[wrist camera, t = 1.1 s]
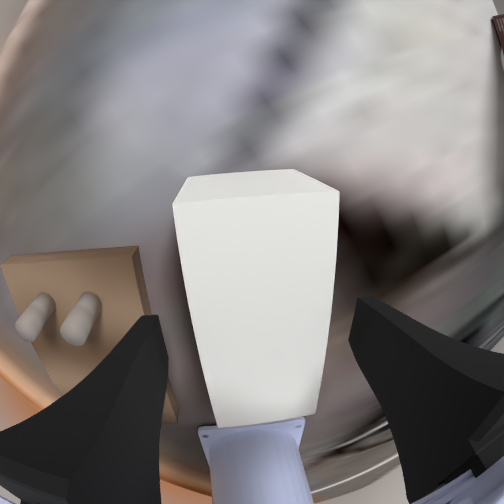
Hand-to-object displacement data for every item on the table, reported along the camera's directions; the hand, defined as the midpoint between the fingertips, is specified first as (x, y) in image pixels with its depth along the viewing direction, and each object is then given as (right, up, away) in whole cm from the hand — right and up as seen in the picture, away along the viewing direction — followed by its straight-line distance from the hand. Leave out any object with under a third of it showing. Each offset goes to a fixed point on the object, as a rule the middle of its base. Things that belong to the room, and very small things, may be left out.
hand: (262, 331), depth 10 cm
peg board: (-9, -3, +4) cm, 11 cm away
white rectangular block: (-1, +2, +4) cm, 4 cm away
